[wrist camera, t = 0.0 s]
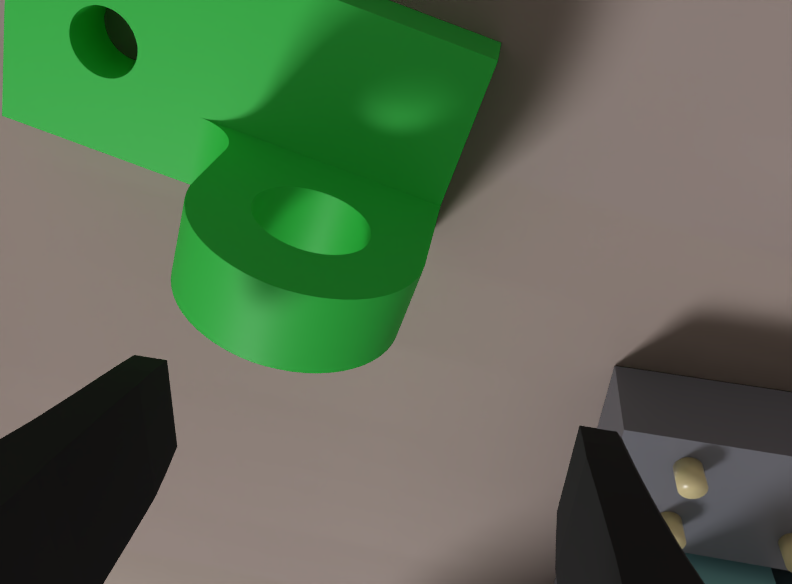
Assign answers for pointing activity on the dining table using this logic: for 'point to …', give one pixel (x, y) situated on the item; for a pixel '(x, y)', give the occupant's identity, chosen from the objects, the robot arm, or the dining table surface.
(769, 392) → the box
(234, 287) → the mechanical part
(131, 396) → the robot arm
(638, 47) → the dining table surface
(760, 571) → the plug
